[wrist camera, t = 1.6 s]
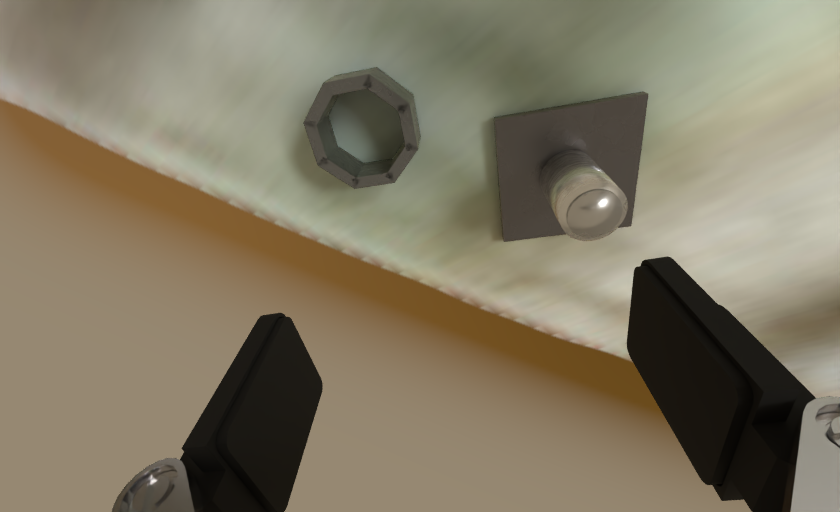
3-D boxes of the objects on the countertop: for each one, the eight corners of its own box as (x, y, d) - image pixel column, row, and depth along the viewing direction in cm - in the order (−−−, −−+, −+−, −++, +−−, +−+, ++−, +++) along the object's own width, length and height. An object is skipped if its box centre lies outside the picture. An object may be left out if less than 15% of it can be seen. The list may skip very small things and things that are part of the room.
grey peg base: (493, 117, 27) (506, 148, 21) (643, 91, 26) (701, 117, 20) (502, 236, 33) (515, 288, 27) (627, 221, 31) (669, 272, 25)
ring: (306, 81, 27) (292, 89, 24) (407, 61, 26) (402, 67, 23) (337, 177, 31) (327, 192, 28) (425, 163, 30) (423, 178, 27)
